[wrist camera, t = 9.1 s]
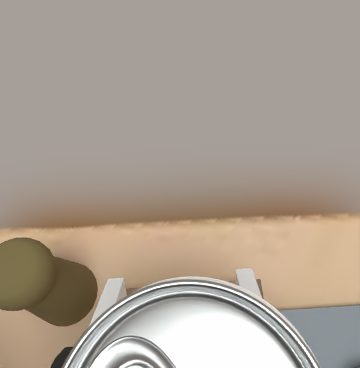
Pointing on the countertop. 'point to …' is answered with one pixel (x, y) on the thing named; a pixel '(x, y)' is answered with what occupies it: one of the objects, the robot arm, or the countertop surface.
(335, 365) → the crank base
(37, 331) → the countertop surface
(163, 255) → the countertop surface
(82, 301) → the cork
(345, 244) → the countertop surface
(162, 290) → the can
